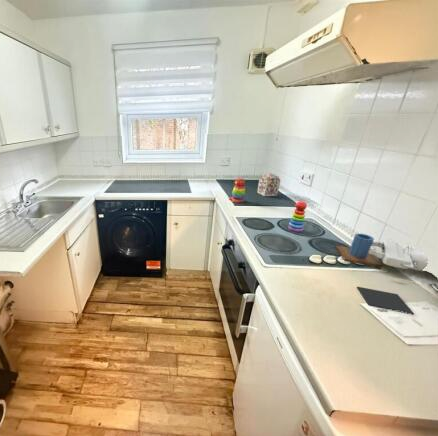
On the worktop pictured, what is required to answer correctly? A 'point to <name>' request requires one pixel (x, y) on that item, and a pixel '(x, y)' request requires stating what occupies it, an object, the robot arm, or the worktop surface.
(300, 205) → the stacking toy
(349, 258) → the platform
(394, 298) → the mat
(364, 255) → the blue ribbed cup
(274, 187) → the decorative jar
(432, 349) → the worktop surface
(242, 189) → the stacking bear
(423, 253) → the robot arm
